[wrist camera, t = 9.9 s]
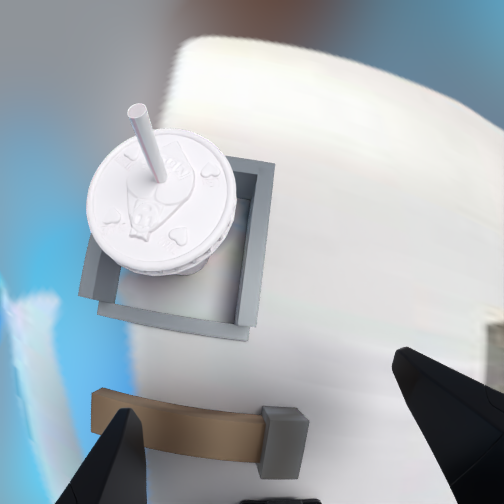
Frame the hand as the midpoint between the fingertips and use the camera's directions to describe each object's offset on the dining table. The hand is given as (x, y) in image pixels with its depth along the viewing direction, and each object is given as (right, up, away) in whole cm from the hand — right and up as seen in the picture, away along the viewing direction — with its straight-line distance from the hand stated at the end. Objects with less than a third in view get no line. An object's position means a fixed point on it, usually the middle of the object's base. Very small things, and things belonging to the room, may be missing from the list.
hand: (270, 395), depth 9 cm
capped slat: (-5, -7, +9) cm, 13 cm away
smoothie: (-5, +5, +12) cm, 14 cm away
